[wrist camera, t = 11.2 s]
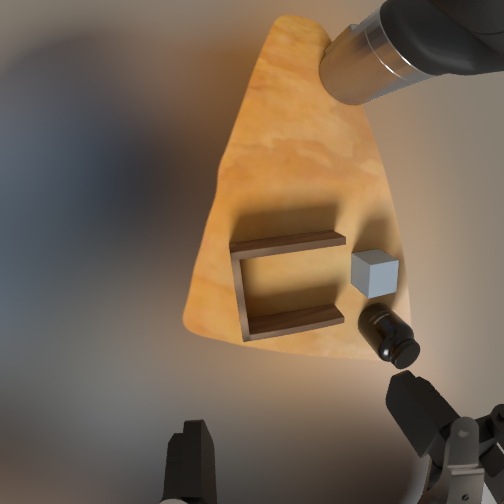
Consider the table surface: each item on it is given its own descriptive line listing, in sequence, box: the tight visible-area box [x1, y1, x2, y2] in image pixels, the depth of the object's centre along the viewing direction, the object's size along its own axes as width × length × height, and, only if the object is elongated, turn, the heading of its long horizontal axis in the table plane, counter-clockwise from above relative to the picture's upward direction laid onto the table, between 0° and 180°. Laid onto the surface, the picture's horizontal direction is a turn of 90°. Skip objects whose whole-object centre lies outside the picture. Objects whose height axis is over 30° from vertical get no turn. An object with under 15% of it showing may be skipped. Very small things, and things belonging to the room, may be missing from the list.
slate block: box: [351, 249, 399, 299], centre depth 38 cm, size 5×5×6 cm
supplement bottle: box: [358, 303, 420, 369], centre depth 38 cm, size 7×7×12 cm
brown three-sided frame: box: [229, 230, 346, 342], centre depth 37 cm, size 13×15×4 cm
